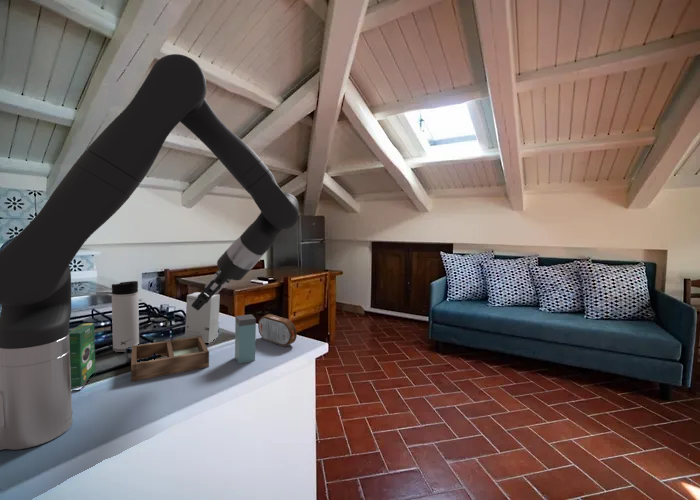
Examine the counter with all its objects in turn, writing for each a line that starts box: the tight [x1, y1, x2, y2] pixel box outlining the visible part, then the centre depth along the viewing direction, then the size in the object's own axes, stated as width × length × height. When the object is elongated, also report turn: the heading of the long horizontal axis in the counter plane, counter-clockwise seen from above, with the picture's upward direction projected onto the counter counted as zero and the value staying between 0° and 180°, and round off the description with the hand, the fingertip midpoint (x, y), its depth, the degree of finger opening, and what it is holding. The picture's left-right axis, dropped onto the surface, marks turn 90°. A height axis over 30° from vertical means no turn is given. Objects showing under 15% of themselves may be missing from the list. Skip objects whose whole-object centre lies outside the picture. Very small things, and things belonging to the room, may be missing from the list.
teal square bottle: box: [234, 314, 257, 364], centre depth 91 cm, size 4×4×12 cm
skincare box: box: [184, 291, 221, 344], centre depth 103 cm, size 8×6×15 cm
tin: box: [257, 313, 298, 347], centre depth 104 cm, size 15×3×8 cm, turn 58°
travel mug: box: [111, 280, 140, 353], centre depth 93 cm, size 6×7×20 cm
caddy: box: [130, 336, 210, 382], centre depth 86 cm, size 17×13×4 cm
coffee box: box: [69, 322, 96, 387], centre depth 74 cm, size 8×3×13 cm, turn 19°
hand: (202, 299), depth 84 cm, fingers open, 8 cm apart
